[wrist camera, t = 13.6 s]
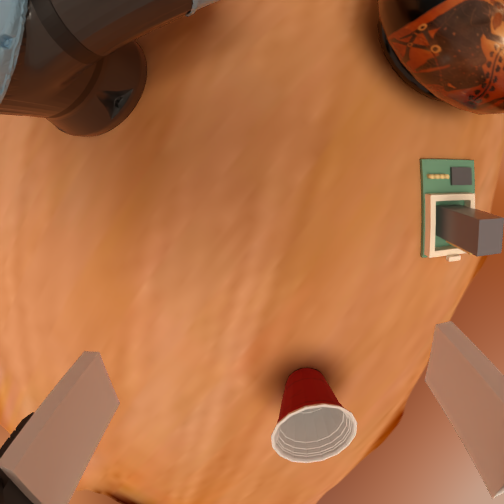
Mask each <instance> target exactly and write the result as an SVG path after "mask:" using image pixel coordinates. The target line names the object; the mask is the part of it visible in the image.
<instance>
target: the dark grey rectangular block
mask: <svg viewBox="0 0 504 504" xmlns="http://www.w3.org/2000/svg"><path fill="white" fill-rule="evenodd" d="M503 224H504V218H502V217H499V216H496V215H493V214H490V213H487V212H483V211H480V210H477V209H473V208H470V207H467V206H463V205H460V204H454V205H436V236H438V237H440V238H442V239H444V240H446V242H447V243H449V244H451V245H453V246H455V247H457V248H458V249H460V250H462V251H464V252H466V253H468V254H470V255H471V254H473V255H475V256H483V255H490V254H497V253H501V249H502V237H503Z"/></svg>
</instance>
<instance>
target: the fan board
mask: <svg viewBox="0 0 504 504" xmlns="http://www.w3.org/2000/svg"><path fill="white" fill-rule="evenodd" d="M420 171H421V197H422V235H421V257H429V258H431V257H439V256H446V260H447V261H449V262H450V261H457V260H460V258H461V256H460V255H458V254H462V253H466V252H464V251H462V250H460V249H458V248H457V247H455V246H453V245H451V244H449V243H447V242H446V240H444V239H442V238H440V237H438V236H436V205H454V204H460V205H463V206H467V207H470V208H473V209H475V179H474V160H450V159H420Z"/></svg>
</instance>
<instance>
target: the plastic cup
mask: <svg viewBox="0 0 504 504" xmlns="http://www.w3.org/2000/svg"><path fill="white" fill-rule="evenodd" d="M356 430H357V422H356V420H355V418H354V416H353V414H352V413H351V412H350V411H348V410H346V409H345V408H344V407H342V405H341V404H340V403H339V402H338V400H337V398H336V397H335V395H334V393H333V391H332V390H331V388H330V386H329V385H328V383H327V382H326V380H325V378H324V376H323V375H322V374H321V373H320V372H319V371H317V370H316V369H312V368H303V369H299V370H297V371H295V372H293V373H292V374H291V375H290V376H289V378H288V380H287V382H286V384H285V391H284V394H283V398H282V404H281V409H280V415H279V419H278V422H277V425H276V427H275V429H274V431H273V433H272V435H271V440H272V447H273V449H274V450H275V451H276V452H277V453H278V454H279V456H281V457H283V458H285V459H288V460H290V461H292V462H302V463H310V462H317V461H323V460H325V459H328V458H330V457H332V456H335V455H337V454H338V453H340V452H341V451H342V450H344V449H345V448H346V447H347V446H349V444H350V443H351V441H352V440H353V438H354V437H355V435H356Z"/></svg>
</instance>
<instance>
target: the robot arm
mask: <svg viewBox="0 0 504 504" xmlns="http://www.w3.org/2000/svg"><path fill="white" fill-rule="evenodd" d="M217 1H219V0H0V114H7V115H21V116H33V117H42V118H46V119H47V120H49V121H50V122H51V123H53V124H54V125H55V126H56V127H57V128H58V129H59V130H61V131H63V132H65V133H67V134H70V135H75V136H96V135H100V134H103V133H105V132H107V131H109V130H111V129H113V128H114V127H116V126H117V125H119V124H120V123H121V122H122V121H123V120H124V119H125V118H126V117H127V116H128V115H129V114H130V113H131V111H132V110H133V109H134V107H135V106H136V104H137V102H138V101H139V99H140V97H141V94H142V92H143V89H144V86H145V81H146V74H147V66H146V59H145V56H144V53H143V51H142V49H141V47H140V46H139V45H138V44H137V42H136V41H134V40H136V39H137V38H139V37H141V36H143V35H145V34H147V33H149V32H151V31H153V30H155V29H157V28H159V27H161V26H163V25H165V24H168V23H170V22H172V21H174V20H176V19H179V18H181V17H183V16H187V17H188V16H190V15H192V14H194V13H195V11H196V10H198V9H201V8H203V7H205V6H207V5H210V4H212V3H214V2H217ZM425 382H426V383H427V385H428V386H429V388H430V390H431V391H432V393H433V394H434V396H435V398H436V399H437V401H438V402H439V404H440V406H441V407H442V409H443V411H444V412H445V414H446V416H447V417H448V419H449V421H450V422H451V424H452V426H453V427H454V429H455V431H456V432H457V434H458V436H459V438H460V439H461V441H462V443H463V444H464V446H465V448H466V450H467V452H468V454H469V455H470V457H471V459H472V460H473V463H474V464H475V466H476V468H477V470H478V472H479V473H480V475H481V477H482V479H483V481H484V483H485V485H486V487H487V489H488V491H489V493H490V495H491V497H492V498H494V497H496V496H498V495H500V494H502V493H504V375H503V374H502V373H501V372H500V371H499V370H498V369H497V368H496V367H495V366H494V364H493V363H491V361H490V360H489V359H488V358H487V357H486V356H485V355H484V354H483V353H482V352H481V351H480V350H479V349H478V348H477V347H476V346H475V344H474V343H472V341H471V340H470V339H469V338H468V337H466V335H464V333H463V332H462V331H461V330H460V329H459V328H458V327H457V326H455V324H454V323H453V322H451V321H450V322H446V323H441V324H436V325H435V331H434V337H433V343H432V348H431V353H430V358H429V363H428V368H427V372H426V377H425ZM119 404H120V402H119V400H118V398H117V395H116V393H115V391H114V388H113V386H112V384H111V381H110V379H109V376H108V374H107V371H106V369H105V366H104V363H103V361H102V358H101V355H100V353H99V352H88V351H84V352H83V354H82V355H81V356H80V357H79V358H78V360H77V361H76V362H75V363H74V364H73V366H72V367H71V368H70V369H69V370H68V372H67V373H66V374H65V375H64V376H63V378H62V379H61V380H60V381H59V383H58V384H57V385H56V386H55V387H54V389H53V390H52V391H51V392H50V394H49V395H48V396H47V397H46V399H45V400H44V401H43V403H42V404H41V405H40V406H39V408H38V409H37V410H36V411H35V413H34V412H32V413H31V414H30V415H28V416H27V417H25V418H24V419H23V420H22V421H21V422H20V424H19V425H18V426H17V427H16V431H15V430H14V431H13V433H12V434H11V435H10V438H8V439H7V441H6V442H5V443H4V445H3V446H2V447H1V449H0V504H68V503H69V501H70V499H71V497H72V495H73V493H74V491H75V489H76V487H77V485H78V483H79V481H80V479H81V477H82V475H83V473H84V471H85V469H86V467H87V465H88V463H89V461H90V459H91V457H92V455H93V453H94V451H95V449H96V447H97V445H98V444H99V442H100V440H101V438H102V436H103V434H104V432H105V430H106V428H107V426H108V424H109V423H110V421H111V419H112V417H113V415H114V413H115V411H116V410H117V408H118V406H119Z"/></svg>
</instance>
